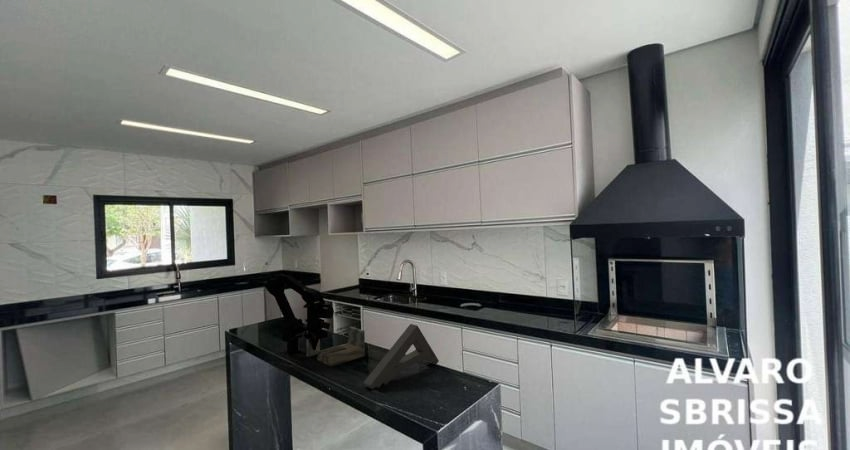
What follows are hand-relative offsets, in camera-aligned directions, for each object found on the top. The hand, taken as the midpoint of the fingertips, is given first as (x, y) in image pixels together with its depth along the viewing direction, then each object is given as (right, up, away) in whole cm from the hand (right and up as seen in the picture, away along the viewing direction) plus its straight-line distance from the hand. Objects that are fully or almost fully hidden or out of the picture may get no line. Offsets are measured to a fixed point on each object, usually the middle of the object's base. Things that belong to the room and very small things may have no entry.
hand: (313, 349), depth 166 cm
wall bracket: (+46, -2, -25) cm, 52 cm away
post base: (+15, -2, -5) cm, 16 cm away
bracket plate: (0, -3, 0) cm, 2 cm away
